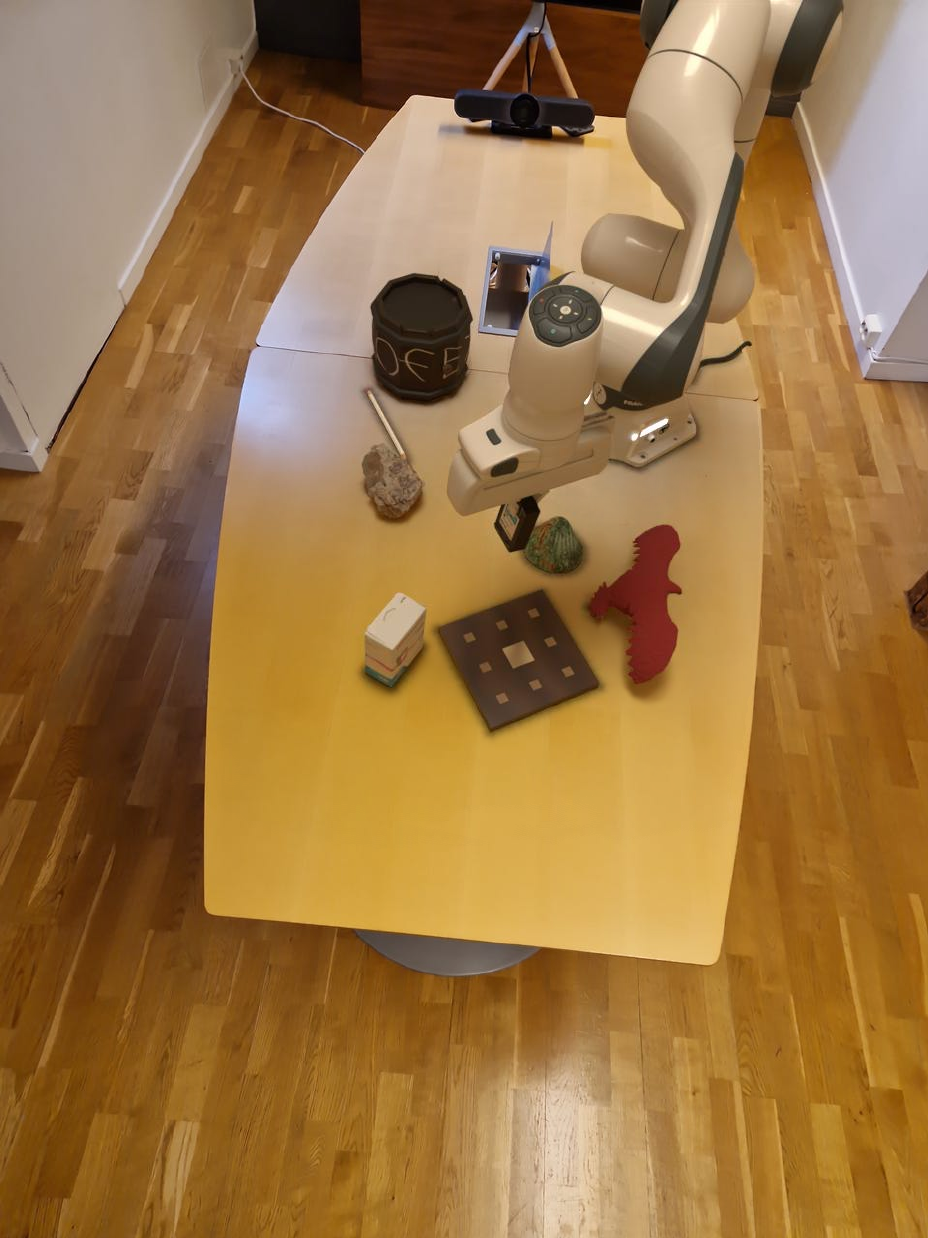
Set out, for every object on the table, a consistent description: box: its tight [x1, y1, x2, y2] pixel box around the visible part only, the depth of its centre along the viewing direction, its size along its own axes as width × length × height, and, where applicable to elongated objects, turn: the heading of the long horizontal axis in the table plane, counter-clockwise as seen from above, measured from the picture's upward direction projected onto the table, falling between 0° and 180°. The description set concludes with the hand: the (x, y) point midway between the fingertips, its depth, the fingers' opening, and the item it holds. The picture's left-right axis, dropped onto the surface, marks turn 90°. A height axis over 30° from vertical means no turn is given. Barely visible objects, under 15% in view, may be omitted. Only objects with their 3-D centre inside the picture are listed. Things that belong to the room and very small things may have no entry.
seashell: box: [522, 515, 584, 574], centre depth 132 cm, size 10×4×10 cm
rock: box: [361, 442, 426, 519], centre depth 133 cm, size 9×12×10 cm
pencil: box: [365, 387, 407, 458], centre depth 145 cm, size 1×19×1 cm, turn 25°
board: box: [437, 588, 600, 732], centre depth 122 cm, size 18×18×1 cm
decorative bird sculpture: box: [587, 524, 683, 685], centre depth 124 cm, size 28×9×15 cm
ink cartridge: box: [493, 495, 541, 554], centre depth 103 cm, size 5×2×8 cm, turn 24°
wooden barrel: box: [369, 272, 474, 404], centre depth 146 cm, size 18×18×16 cm
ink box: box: [364, 591, 428, 688], centre depth 116 cm, size 9×5×12 cm, turn 148°
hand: (521, 510), depth 102 cm, fingers closed, pressing on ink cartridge
